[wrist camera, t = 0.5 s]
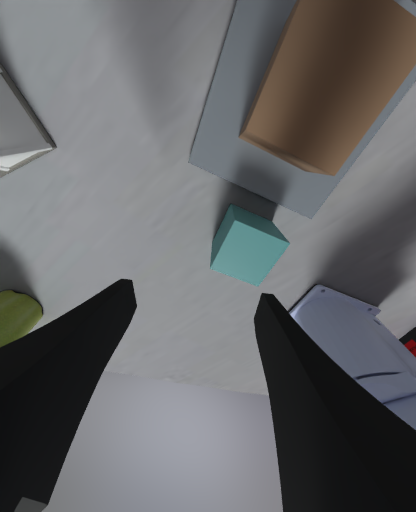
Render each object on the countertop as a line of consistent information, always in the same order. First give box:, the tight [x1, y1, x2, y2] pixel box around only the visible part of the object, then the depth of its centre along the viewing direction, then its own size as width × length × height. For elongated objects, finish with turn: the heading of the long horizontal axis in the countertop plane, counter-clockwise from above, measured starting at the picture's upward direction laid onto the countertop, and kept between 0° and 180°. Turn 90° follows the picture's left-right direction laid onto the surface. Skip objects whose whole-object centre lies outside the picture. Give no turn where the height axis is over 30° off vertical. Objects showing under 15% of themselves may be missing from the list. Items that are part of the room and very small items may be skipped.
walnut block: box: [238, 0, 416, 176], centre depth 10 cm, size 6×6×4 cm
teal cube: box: [210, 204, 290, 286], centre depth 15 cm, size 4×4×5 cm
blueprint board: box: [188, 0, 416, 219], centre depth 12 cm, size 12×12×1 cm
